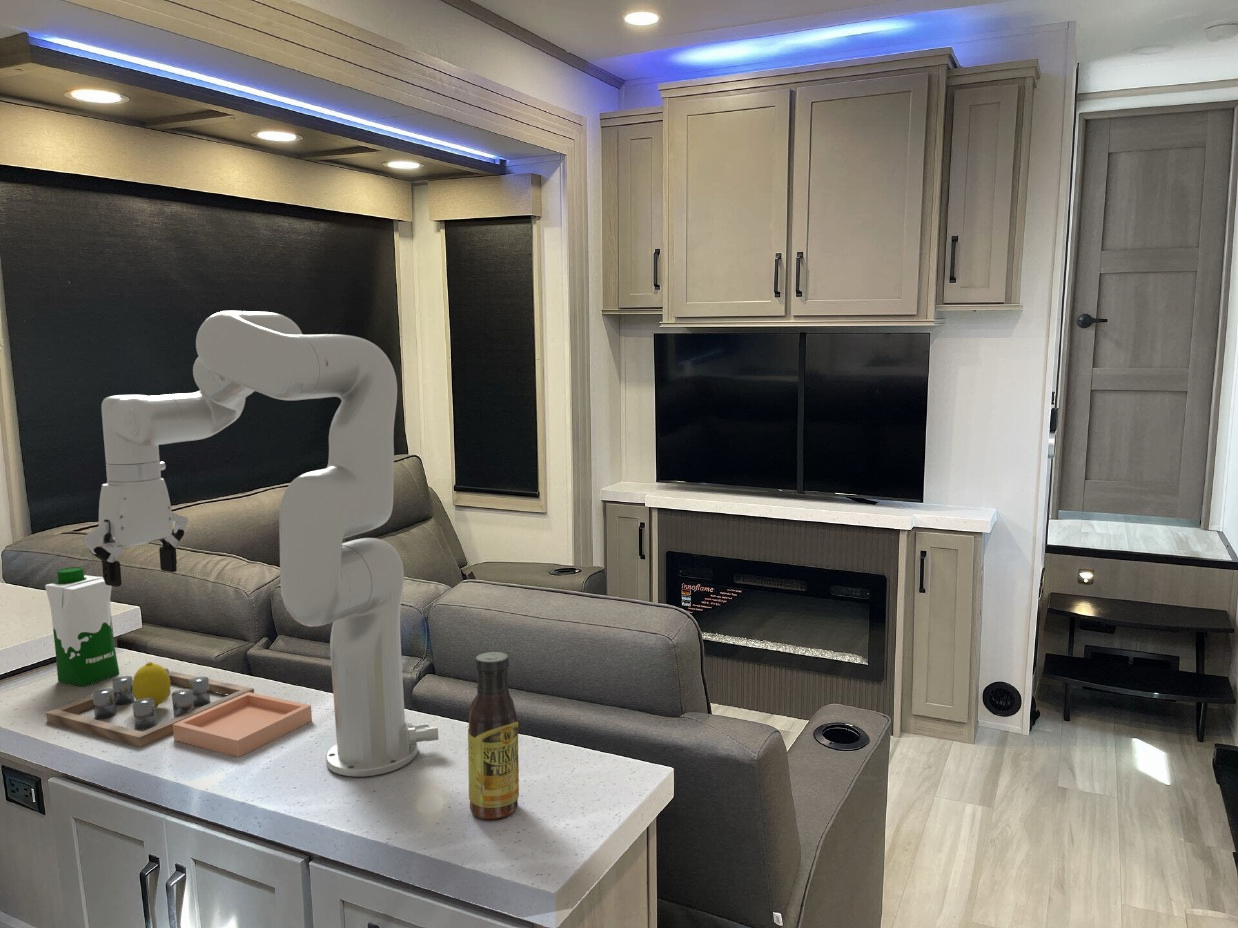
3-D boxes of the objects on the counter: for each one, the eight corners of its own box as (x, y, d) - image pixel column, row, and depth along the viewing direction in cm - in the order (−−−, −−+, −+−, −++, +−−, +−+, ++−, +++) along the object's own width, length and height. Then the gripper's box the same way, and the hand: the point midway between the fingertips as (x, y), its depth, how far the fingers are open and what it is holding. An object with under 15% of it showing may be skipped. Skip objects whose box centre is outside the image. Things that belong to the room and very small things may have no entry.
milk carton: (95, 666, 170) (85, 563, 167) (128, 673, 166) (117, 567, 163) (49, 682, 162) (37, 574, 159) (82, 689, 158) (70, 578, 155)
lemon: (179, 702, 151) (175, 656, 150) (159, 716, 145) (154, 668, 144) (148, 702, 151) (143, 656, 150) (127, 715, 146) (122, 668, 145)
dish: (312, 720, 142) (310, 705, 142) (238, 756, 130) (237, 740, 129) (249, 706, 148) (248, 691, 148) (174, 739, 136) (172, 724, 136)
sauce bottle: (487, 828, 109) (480, 670, 106) (460, 809, 113) (452, 657, 111) (531, 809, 113) (525, 656, 110) (503, 791, 118) (497, 644, 115)
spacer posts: (224, 703, 150) (222, 680, 150) (153, 733, 139) (151, 708, 138) (153, 687, 158) (151, 665, 158) (81, 714, 147) (78, 691, 146)
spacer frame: (254, 696, 152) (253, 688, 152) (140, 746, 134) (139, 737, 134) (164, 677, 163) (163, 669, 163) (47, 721, 144) (46, 712, 144)
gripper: (167, 464, 152) (174, 563, 154) (65, 479, 137) (74, 588, 139) (197, 467, 149) (203, 568, 151) (96, 482, 133) (105, 594, 136)
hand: (141, 577), depth 145 cm, fingers open, 9 cm apart
